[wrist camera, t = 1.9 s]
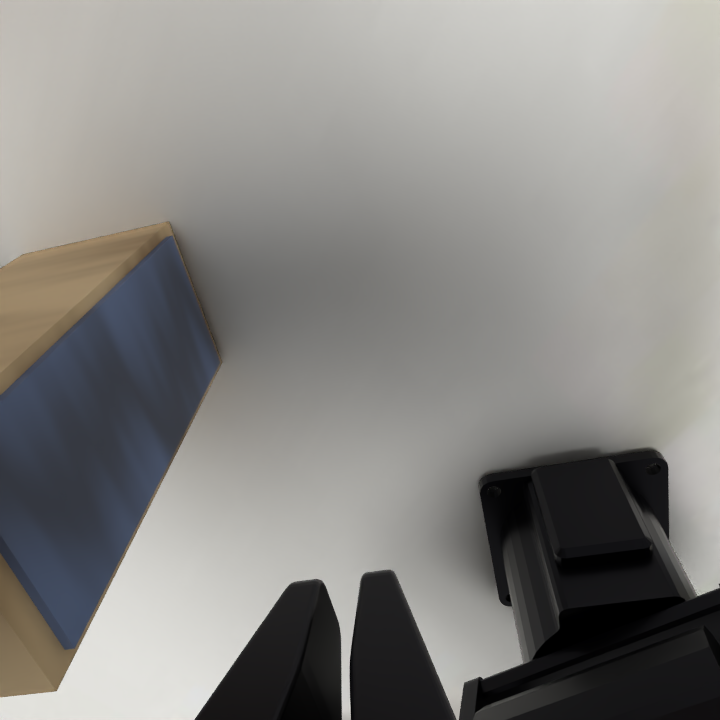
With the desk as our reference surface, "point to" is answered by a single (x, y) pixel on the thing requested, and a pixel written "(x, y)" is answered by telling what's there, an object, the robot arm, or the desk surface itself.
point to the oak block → (86, 428)
